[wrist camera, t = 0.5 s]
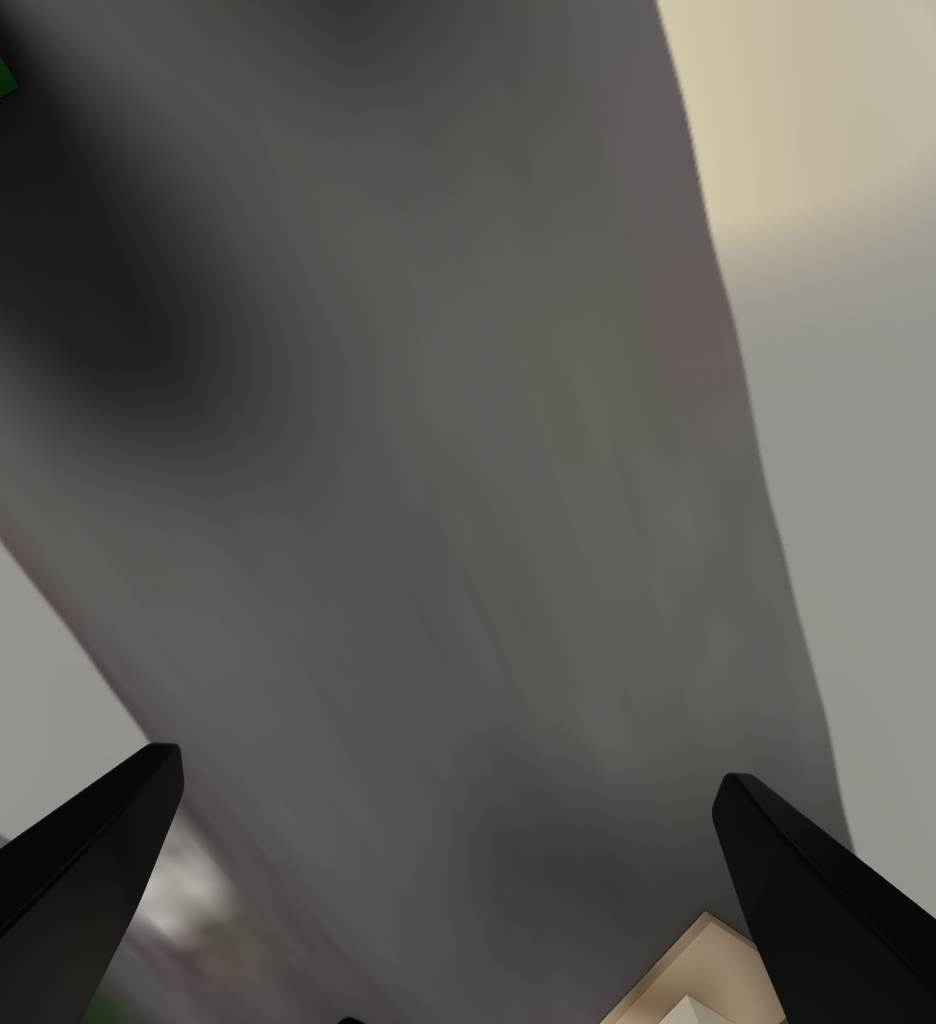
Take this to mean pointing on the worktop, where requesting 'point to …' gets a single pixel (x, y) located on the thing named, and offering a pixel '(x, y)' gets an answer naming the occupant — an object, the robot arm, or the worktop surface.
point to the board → (704, 979)
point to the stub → (693, 1014)
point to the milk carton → (6, 80)
